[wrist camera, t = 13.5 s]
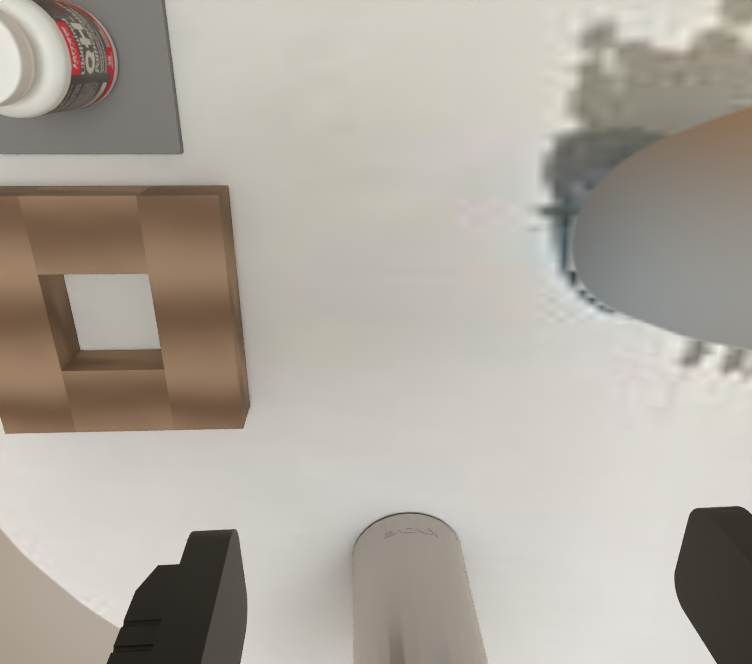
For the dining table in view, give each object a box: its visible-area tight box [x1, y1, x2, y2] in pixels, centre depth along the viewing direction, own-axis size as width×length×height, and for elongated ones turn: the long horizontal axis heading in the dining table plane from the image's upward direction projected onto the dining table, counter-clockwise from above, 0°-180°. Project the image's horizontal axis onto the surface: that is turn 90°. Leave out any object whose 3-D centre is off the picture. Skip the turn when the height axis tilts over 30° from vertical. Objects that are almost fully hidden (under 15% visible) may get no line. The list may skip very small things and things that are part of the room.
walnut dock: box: [0, 186, 250, 434], centre depth 38 cm, size 16×16×3 cm
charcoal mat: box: [0, 0, 183, 154], centre depth 33 cm, size 11×11×1 cm
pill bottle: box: [0, 0, 118, 118], centre depth 28 cm, size 5×5×10 cm
